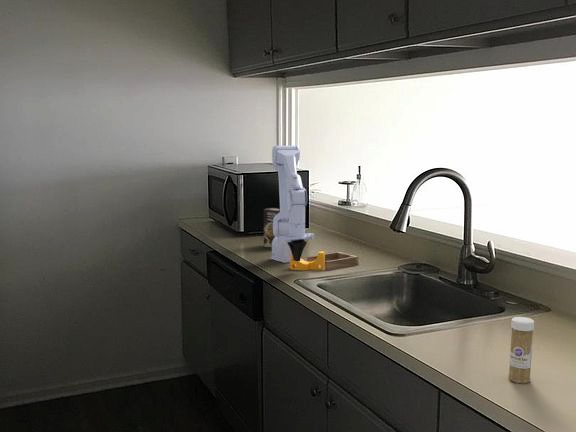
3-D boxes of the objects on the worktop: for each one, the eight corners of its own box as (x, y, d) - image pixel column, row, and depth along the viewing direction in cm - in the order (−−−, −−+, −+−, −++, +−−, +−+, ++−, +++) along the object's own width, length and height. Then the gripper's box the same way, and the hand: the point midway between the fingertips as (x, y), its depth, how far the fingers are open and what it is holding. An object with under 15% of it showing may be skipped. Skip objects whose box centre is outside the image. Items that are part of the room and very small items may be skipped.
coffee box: (263, 246, 287) (262, 209, 285) (271, 244, 293) (271, 207, 290) (280, 249, 282) (280, 210, 280) (289, 246, 288) (289, 209, 285)
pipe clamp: (290, 269, 246) (290, 252, 245) (292, 267, 250) (292, 250, 249) (322, 271, 243) (322, 254, 242) (324, 269, 247) (324, 251, 246)
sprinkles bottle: (507, 382, 143) (511, 321, 141) (508, 374, 147) (511, 315, 145) (530, 385, 141) (534, 323, 139) (531, 377, 145) (534, 317, 143)
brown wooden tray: (307, 264, 253) (307, 256, 253) (338, 259, 263) (338, 251, 262) (327, 270, 244) (327, 262, 244) (358, 264, 254) (358, 256, 253)
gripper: (287, 226, 232) (287, 265, 234) (319, 222, 241) (319, 260, 243) (275, 224, 238) (275, 261, 240) (307, 220, 247) (307, 256, 249)
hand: (296, 260), depth 242 cm, fingers closed
